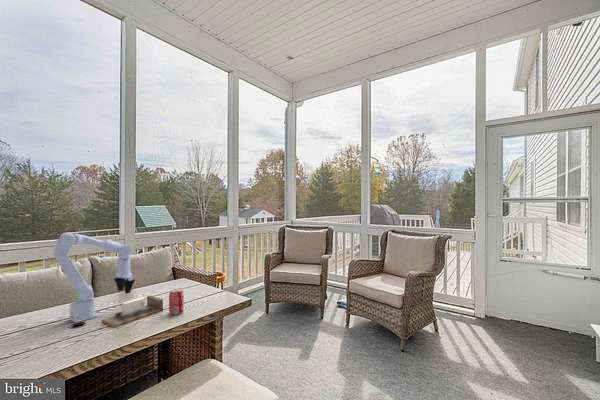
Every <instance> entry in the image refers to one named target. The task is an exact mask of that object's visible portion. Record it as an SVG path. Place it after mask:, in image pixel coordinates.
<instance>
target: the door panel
mask: <svg viewBox="0 0 600 400" xmlns="http://www.w3.org/2000/svg"><path fill="white" fill-rule="evenodd" d="M145 306H146V297H143V296H141V297H137V298H134V299H130V300H127V301H123V302H121V312H122V315H126V314H129V313H132V312H135V311H138V310H141V309H144V308H145Z"/></svg>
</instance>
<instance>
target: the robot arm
mask: <svg viewBox="0 0 600 400" xmlns="http://www.w3.org/2000/svg"><path fill="white" fill-rule="evenodd" d="M75 243H76V245H80V244H85V245H87V244H88V245H92V246H95V247H100V248H101V250H102V251H104V252H109V253H112V254H116V255H117V254H118V259H117V260H118V261H117V273H115V278H113V280H114V282H115V284H116V287H117V290H118V292H121V291H124V293H125V294H130V293H131V291H132V287H133V284H134V283H135V281H136V279H134V276H133V273H132V272H131V262H132V261H131V260H132V259H131V254H132V251H133V250H132V248H131V247H130V246H129V245H127V244H126V243H123V242H116V241H114V240H113V239H110V240H109V239H106V240H101V239H98V238H94V237H91V236H88V235H84V234H80V233H72V232H71V231H69V232H64V233H61V234H60V236H59V237H58V238H57V240H56V243H55V244H56V245H55V248H54V253H53V257H54V258H55V259H56V262H57V263H58V264H59V266H60V267H61V268H62V270H63V272H64V274H65V275H66V276H67V278H68V279H69V281H70V282H71V284H72V285H73V287H74V289H75V291H76V293H77V299H76V301H74V302H73V303H70V305H69V321H72V322H73V323H75V324H77V323H80V322H82V321H86V320H89V319H93V318H96V317H98V314H96V313H95V296H94V295H95V293H94V289H93V286H92V285H90V284H89V283H87V282H86V280H85V279H84V278H83V276H82V274H81V273H80V271H79V270H78V268H77V266H76V265H75V264H74V262H73V260H72V259H71V257H70V256H69V254H68V253H69V251H70V249H71V248H72V247H73V246H74V245H75Z"/></svg>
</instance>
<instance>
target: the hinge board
mask: <svg viewBox="0 0 600 400" xmlns="http://www.w3.org/2000/svg"><path fill="white" fill-rule="evenodd" d="M163 311H164V299H162V298H160V297H157V296H153V295H147V296H146V305H145V308H144V309H141V310H138V311H135V312H132V313H129V314H126V315H122V311H120V312H119V311H118V312H116V313H115V315H113V316H110V317H106V318H104V319H101V323H103V324H105V323H106V324H105V325H107V326H109V327H111V328H114V329H115V328H118V327H121V326H123V325H127V324H128V323H132V322H135V321H137V320H140V319H143V318H146V317H148V316H149V317H150V316H152V315H155V314H157V313H160V312H163ZM120 325H121V326H120Z"/></svg>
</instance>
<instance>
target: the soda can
mask: <svg viewBox="0 0 600 400" xmlns="http://www.w3.org/2000/svg"><path fill="white" fill-rule="evenodd" d="M184 294H185V292H184V291H183V289H182V288H173V289H170V293H169V294H168V311H169V314H170V315H172V316H178V315H180V314H182V313H183V312H184V310H185V309H184V307H185V305H184V304H185V303H184V302H185V298H184V297H185V295H184Z"/></svg>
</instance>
